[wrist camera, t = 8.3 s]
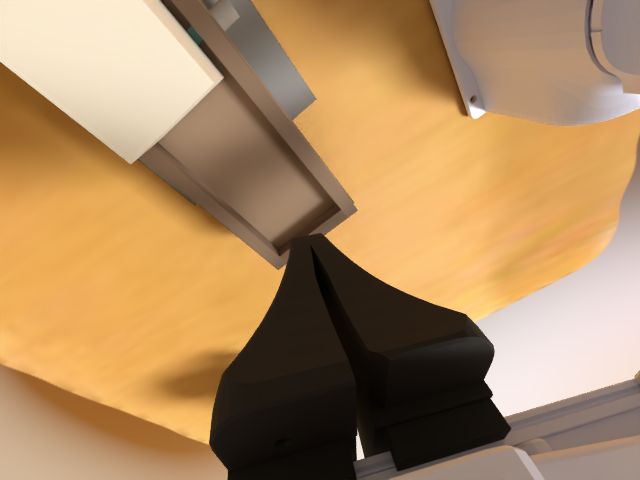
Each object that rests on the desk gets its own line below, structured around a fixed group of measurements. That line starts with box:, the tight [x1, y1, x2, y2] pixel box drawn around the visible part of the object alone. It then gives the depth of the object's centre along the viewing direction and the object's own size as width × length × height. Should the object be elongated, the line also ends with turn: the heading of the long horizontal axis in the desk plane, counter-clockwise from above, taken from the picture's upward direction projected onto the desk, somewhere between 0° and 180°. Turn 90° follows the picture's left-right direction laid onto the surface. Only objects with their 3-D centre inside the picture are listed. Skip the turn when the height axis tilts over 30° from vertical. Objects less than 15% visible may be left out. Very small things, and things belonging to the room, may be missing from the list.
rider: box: [0, 0, 224, 164], centre depth 10 cm, size 6×4×4 cm
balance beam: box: [138, 0, 358, 270], centre depth 14 cm, size 24×11×5 cm, turn 36°
